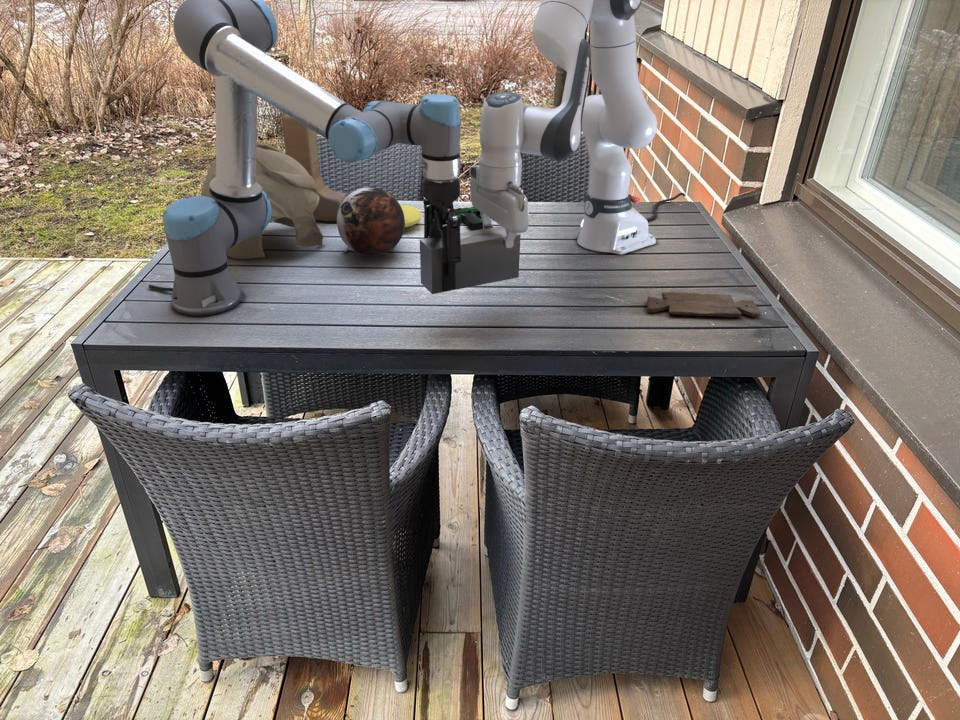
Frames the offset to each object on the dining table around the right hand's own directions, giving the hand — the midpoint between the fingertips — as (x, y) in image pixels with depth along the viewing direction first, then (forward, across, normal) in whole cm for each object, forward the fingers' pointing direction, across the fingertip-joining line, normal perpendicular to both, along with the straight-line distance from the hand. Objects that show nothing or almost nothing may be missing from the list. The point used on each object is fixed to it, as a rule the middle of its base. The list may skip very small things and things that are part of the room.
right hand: (497, 239), depth 155 cm
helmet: (+18, +62, +38) cm, 75 cm away
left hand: (+8, 0, +13) cm, 15 cm away
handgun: (+17, +56, -24) cm, 63 cm away
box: (+8, 0, +6) cm, 11 cm away
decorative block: (+18, +78, +19) cm, 82 cm away
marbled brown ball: (+18, +45, +14) cm, 50 cm away
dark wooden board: (+17, -19, -44) cm, 51 cm away
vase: (+18, +63, +1) cm, 65 cm away
